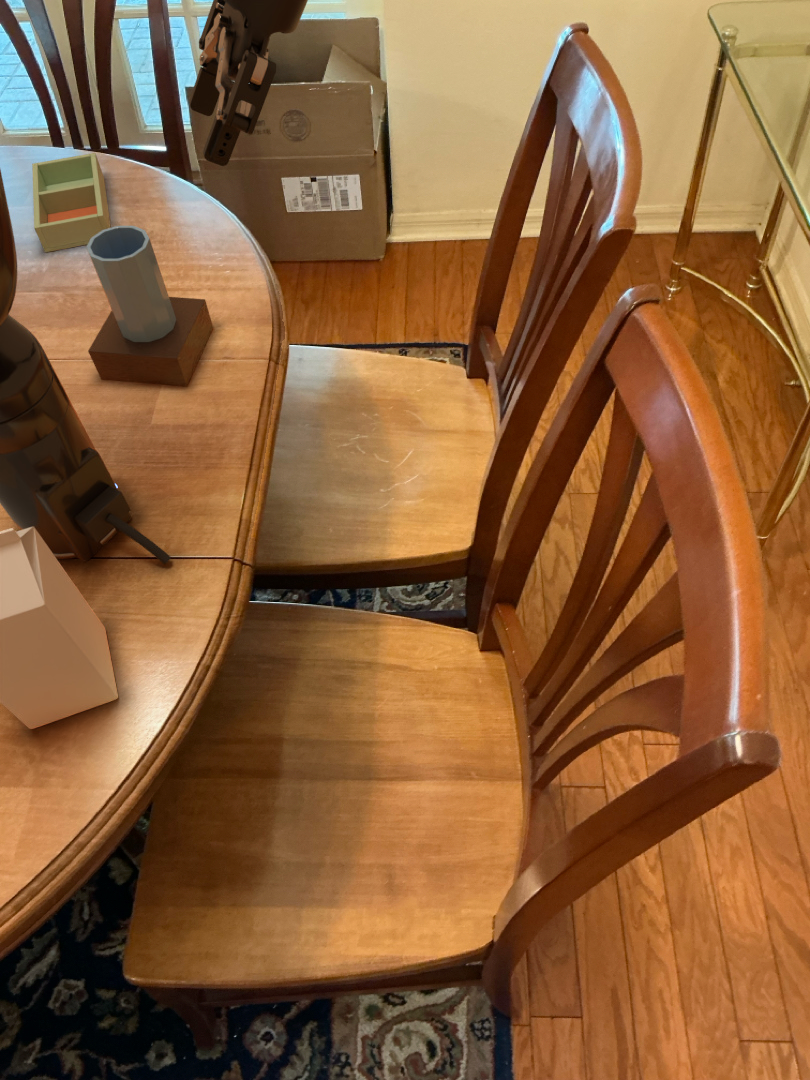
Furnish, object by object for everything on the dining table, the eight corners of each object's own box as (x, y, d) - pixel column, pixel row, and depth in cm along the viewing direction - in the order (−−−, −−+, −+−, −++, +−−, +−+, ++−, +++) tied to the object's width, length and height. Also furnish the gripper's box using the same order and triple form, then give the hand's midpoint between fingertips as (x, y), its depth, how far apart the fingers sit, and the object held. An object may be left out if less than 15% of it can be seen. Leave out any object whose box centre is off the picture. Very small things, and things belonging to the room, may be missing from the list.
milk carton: (119, 699, 63) (18, 571, 47) (30, 731, 61) (-104, 609, 46) (106, 628, 67) (8, 489, 51) (22, 657, 65) (-105, 522, 50)
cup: (186, 318, 85) (161, 236, 77) (149, 349, 82) (117, 267, 74) (147, 300, 87) (117, 219, 79) (108, 330, 84) (74, 249, 76)
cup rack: (103, 176, 110) (95, 152, 107) (112, 239, 101) (103, 215, 98) (42, 187, 109) (32, 163, 106) (45, 252, 100) (34, 228, 97)
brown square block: (213, 327, 90) (205, 299, 87) (186, 386, 84) (177, 358, 81) (132, 321, 91) (121, 292, 88) (100, 379, 85) (87, 351, 82)
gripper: (214, -114, 62) (156, 80, 72) (246, -41, 55) (177, 164, 65) (297, -66, 66) (231, 111, 77) (338, 8, 59) (258, 193, 69)
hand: (206, 135), depth 71 cm, fingers open, 8 cm apart
